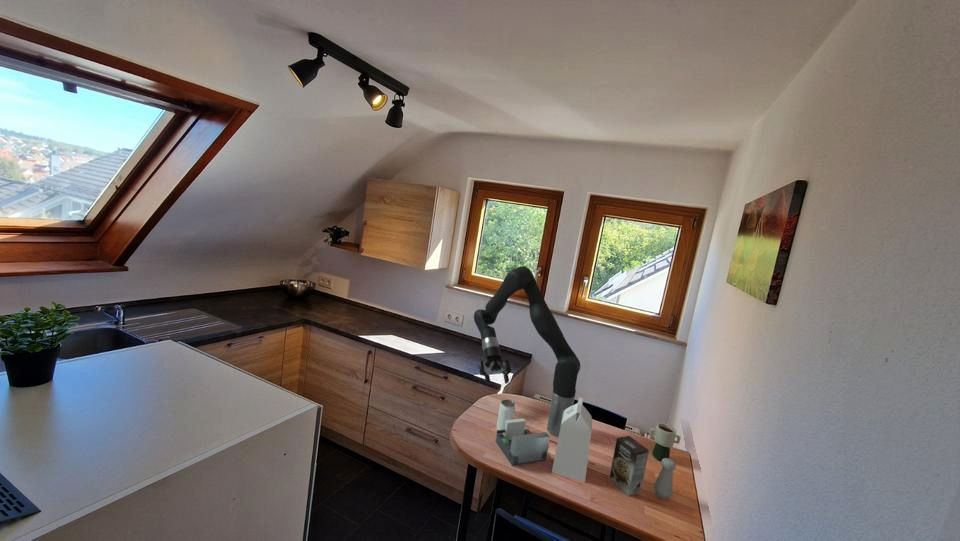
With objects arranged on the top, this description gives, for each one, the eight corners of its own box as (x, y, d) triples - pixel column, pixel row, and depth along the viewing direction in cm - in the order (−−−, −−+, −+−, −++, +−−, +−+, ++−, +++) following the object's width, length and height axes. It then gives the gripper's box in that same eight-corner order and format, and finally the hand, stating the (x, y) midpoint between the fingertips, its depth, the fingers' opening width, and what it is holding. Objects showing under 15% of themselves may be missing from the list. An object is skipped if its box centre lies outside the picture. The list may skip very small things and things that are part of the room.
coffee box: (608, 479, 138) (615, 437, 136) (621, 475, 141) (628, 434, 139) (628, 496, 130) (636, 453, 128) (641, 492, 133) (650, 449, 131)
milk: (584, 482, 135) (596, 412, 131) (551, 472, 138) (562, 404, 134) (586, 462, 146) (597, 397, 142) (555, 453, 150) (565, 390, 146)
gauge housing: (527, 437, 158) (530, 415, 156) (546, 461, 144) (549, 436, 143) (495, 441, 153) (498, 418, 151) (512, 466, 139) (515, 441, 138)
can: (510, 435, 158) (514, 408, 156) (495, 432, 159) (498, 405, 157) (512, 427, 164) (516, 401, 162) (497, 424, 165) (501, 398, 164)
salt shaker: (649, 488, 136) (656, 454, 134) (665, 489, 136) (672, 455, 134) (658, 501, 130) (665, 465, 128) (674, 502, 130) (682, 466, 128)
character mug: (674, 457, 156) (680, 427, 154) (676, 467, 150) (682, 436, 148) (645, 448, 160) (651, 419, 158) (645, 458, 154) (651, 427, 152)
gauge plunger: (520, 435, 157) (523, 418, 156) (523, 438, 155) (525, 421, 154) (494, 438, 152) (497, 421, 151) (496, 441, 151) (499, 423, 149)
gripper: (479, 345, 173) (486, 381, 164) (508, 345, 178) (516, 379, 169) (474, 352, 179) (480, 387, 170) (502, 351, 184) (509, 385, 175)
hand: (498, 383), depth 170 cm, fingers open, 8 cm apart
